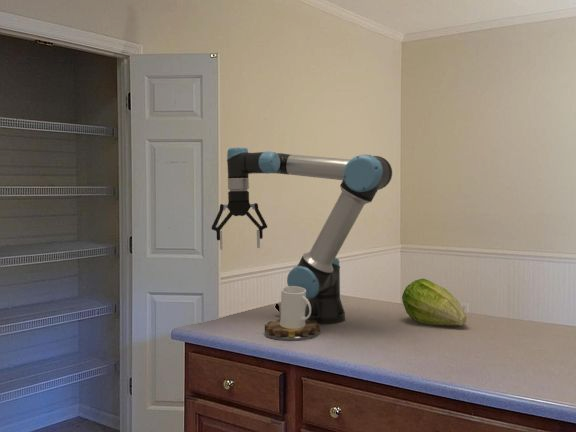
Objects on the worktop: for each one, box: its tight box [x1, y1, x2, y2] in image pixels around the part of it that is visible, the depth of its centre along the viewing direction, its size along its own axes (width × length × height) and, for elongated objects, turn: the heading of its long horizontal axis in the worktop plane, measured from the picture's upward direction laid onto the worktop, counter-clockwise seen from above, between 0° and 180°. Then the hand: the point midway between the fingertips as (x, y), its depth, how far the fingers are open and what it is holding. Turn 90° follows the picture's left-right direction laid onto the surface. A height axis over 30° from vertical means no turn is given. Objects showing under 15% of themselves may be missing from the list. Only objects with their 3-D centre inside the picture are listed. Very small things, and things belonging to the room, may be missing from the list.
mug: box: [280, 285, 311, 329], centre depth 192 cm, size 12×8×12 cm
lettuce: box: [401, 278, 468, 326], centre depth 206 cm, size 15×25×16 cm
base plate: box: [264, 329, 321, 342], centre depth 197 cm, size 19×19×1 cm
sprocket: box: [264, 302, 321, 337], centre depth 197 cm, size 18×18×8 cm
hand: (240, 248), depth 215 cm, fingers open, 13 cm apart
